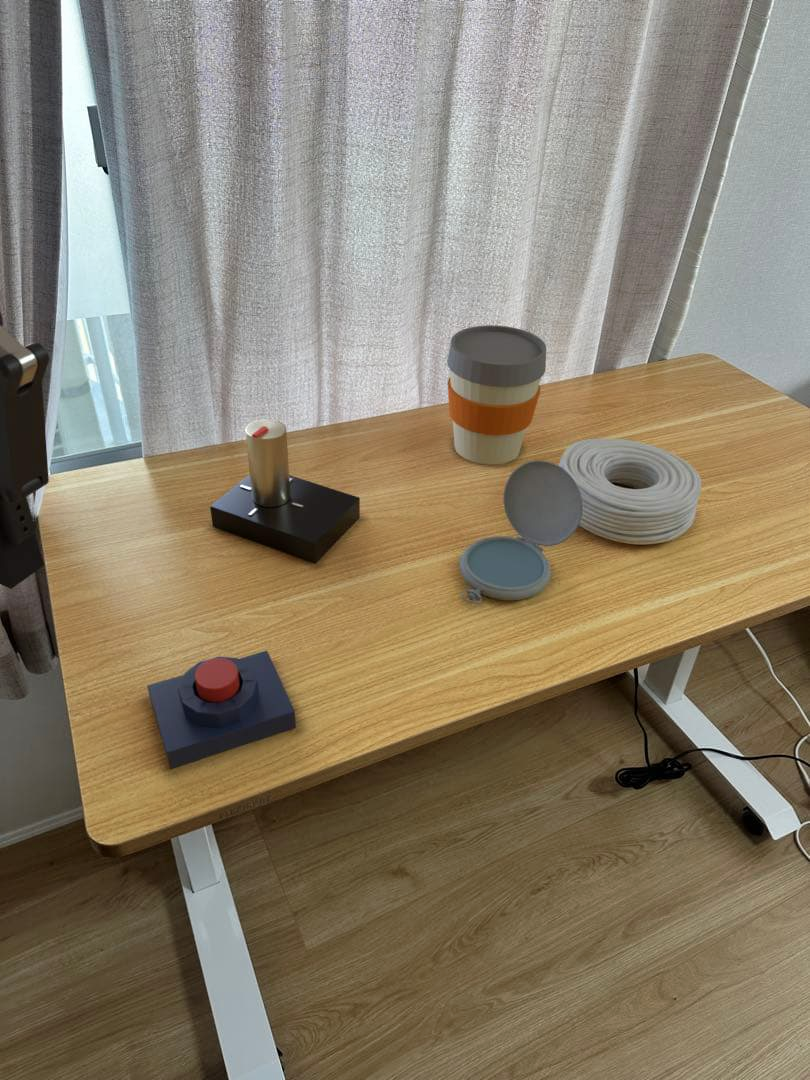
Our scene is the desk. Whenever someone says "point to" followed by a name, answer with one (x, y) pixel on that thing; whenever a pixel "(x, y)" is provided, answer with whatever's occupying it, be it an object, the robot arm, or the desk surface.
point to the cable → (632, 490)
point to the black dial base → (289, 518)
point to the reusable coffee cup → (493, 390)
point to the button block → (220, 711)
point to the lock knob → (268, 462)
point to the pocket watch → (524, 534)
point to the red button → (217, 680)
